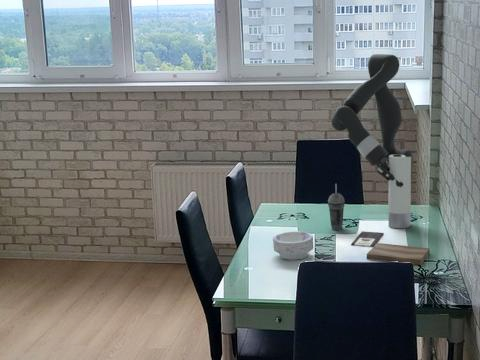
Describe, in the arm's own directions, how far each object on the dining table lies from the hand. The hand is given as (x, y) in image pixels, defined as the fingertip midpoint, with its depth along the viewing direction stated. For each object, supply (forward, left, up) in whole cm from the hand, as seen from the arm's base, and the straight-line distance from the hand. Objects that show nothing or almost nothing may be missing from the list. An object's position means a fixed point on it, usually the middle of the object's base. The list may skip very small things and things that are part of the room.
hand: (403, 185), depth 257 cm
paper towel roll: (0, -2, -11) cm, 11 cm away
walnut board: (0, -2, -27) cm, 28 cm away
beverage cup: (-27, -36, -28) cm, 53 cm away
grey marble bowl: (+13, -39, -28) cm, 50 cm away
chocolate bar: (-16, -19, -28) cm, 38 cm away
